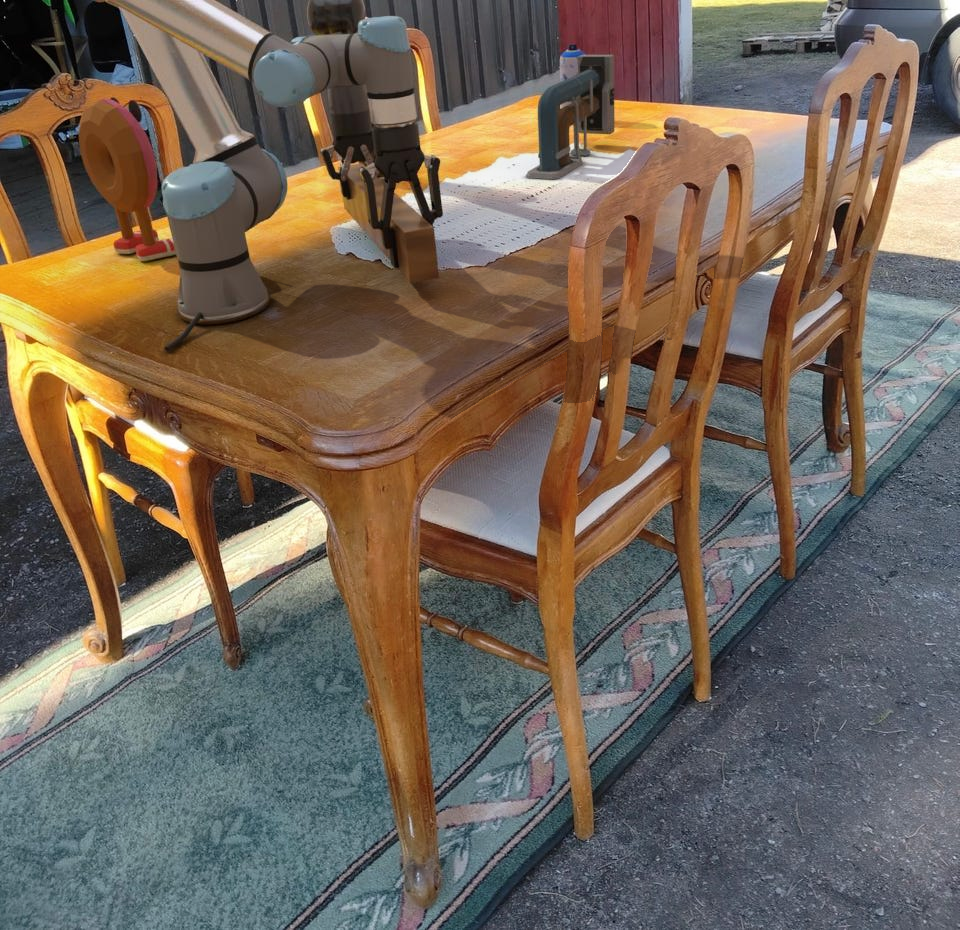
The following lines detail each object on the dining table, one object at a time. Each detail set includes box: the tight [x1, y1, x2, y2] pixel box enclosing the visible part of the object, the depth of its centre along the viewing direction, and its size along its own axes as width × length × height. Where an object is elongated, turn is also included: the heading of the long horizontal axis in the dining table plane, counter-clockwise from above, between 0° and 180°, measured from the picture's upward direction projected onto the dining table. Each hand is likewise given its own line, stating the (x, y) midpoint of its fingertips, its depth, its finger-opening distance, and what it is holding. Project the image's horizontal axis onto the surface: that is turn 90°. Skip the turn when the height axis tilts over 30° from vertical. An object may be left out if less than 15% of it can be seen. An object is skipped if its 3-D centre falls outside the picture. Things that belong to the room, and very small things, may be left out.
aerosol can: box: [559, 43, 586, 109], centre depth 273 cm, size 8×8×20 cm
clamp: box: [525, 54, 615, 180], centre depth 232 cm, size 35×9×21 cm, turn 151°
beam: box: [337, 163, 440, 284], centre depth 179 cm, size 51×5×9 cm, turn 19°
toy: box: [78, 96, 177, 262], centre depth 190 cm, size 21×10×30 cm, turn 47°
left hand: (411, 262), depth 167 cm, fingers closed on beam, 5 cm apart
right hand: (361, 196), depth 194 cm, fingers closed on beam, 5 cm apart
